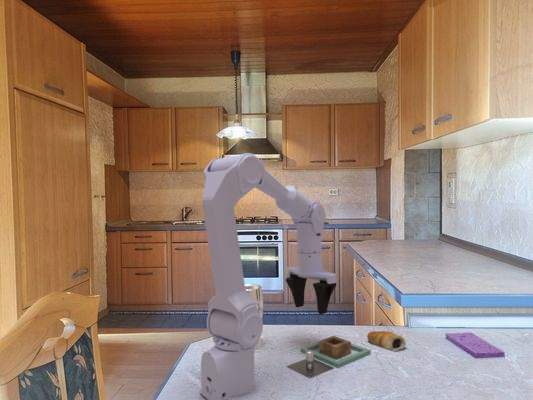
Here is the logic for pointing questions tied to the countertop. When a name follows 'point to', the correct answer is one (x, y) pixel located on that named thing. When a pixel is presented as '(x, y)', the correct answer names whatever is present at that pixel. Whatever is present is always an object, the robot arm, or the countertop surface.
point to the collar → (334, 347)
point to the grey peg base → (310, 366)
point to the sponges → (474, 345)
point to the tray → (361, 353)
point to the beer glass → (256, 294)
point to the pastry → (386, 340)
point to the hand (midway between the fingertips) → (310, 309)
